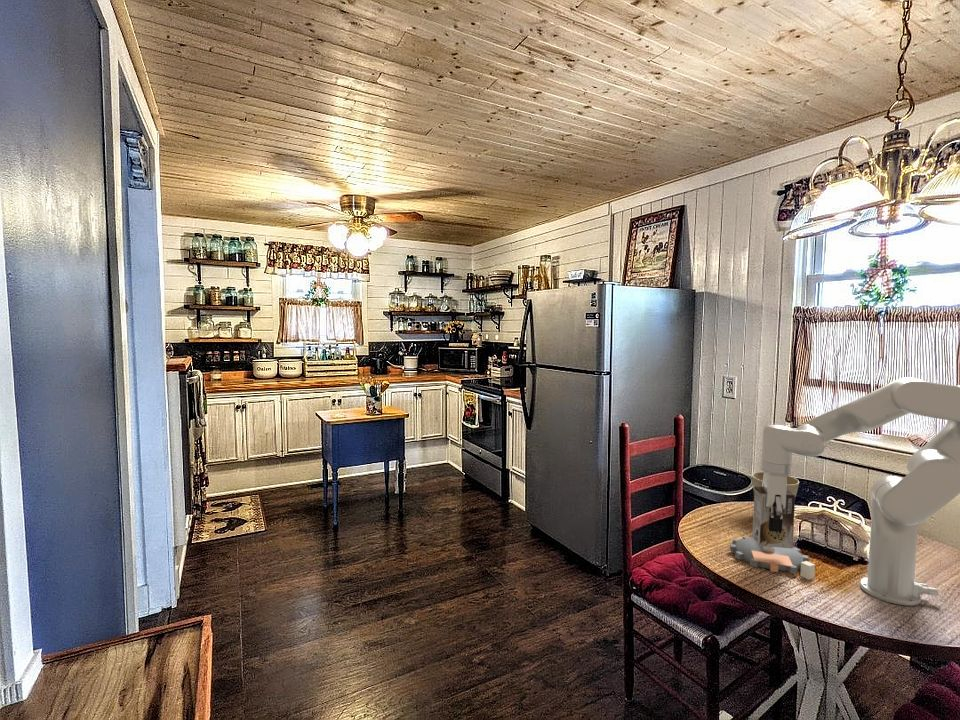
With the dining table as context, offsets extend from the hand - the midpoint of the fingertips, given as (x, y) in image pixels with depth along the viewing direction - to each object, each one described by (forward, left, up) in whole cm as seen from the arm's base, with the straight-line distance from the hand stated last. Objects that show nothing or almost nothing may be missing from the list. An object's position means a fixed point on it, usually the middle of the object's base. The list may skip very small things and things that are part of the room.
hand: (772, 525), depth 144 cm
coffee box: (0, 0, -6) cm, 6 cm away
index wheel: (0, -6, -12) cm, 13 cm away
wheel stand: (-3, -3, -13) cm, 13 cm away
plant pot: (-7, -40, -13) cm, 43 cm away
